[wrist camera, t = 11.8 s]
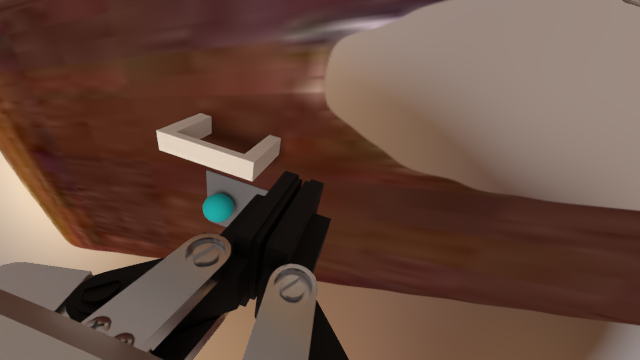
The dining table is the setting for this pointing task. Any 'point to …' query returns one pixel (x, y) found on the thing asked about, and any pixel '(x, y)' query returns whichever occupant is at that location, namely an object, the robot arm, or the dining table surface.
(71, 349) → the robot arm
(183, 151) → the bridge
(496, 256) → the dining table surface
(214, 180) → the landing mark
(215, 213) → the ball
